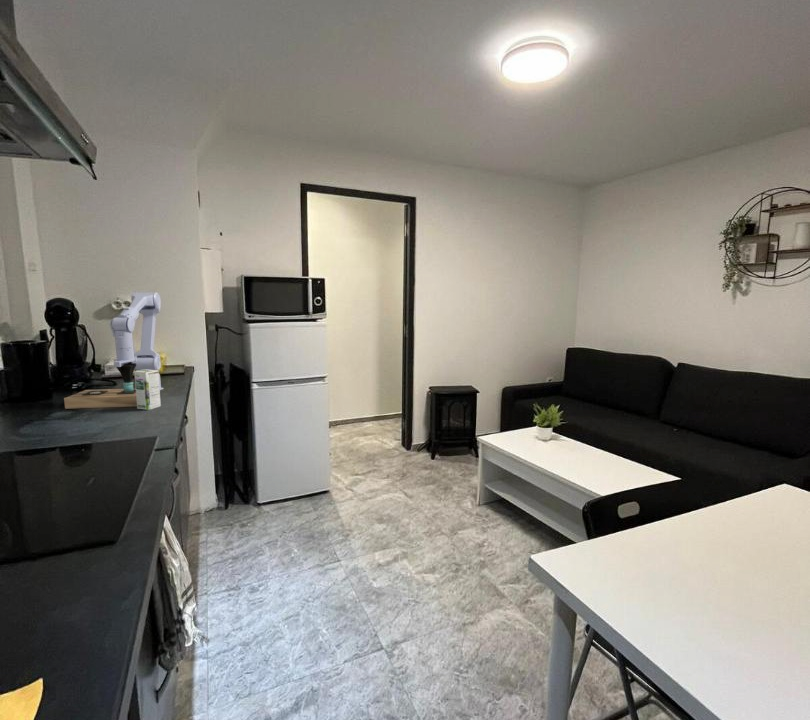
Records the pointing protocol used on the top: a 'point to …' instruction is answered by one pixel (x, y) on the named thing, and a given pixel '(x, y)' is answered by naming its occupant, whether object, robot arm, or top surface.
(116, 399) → the oak board
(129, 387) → the teal peg
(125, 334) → the robot arm
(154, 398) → the syrup box
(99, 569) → the top surface
